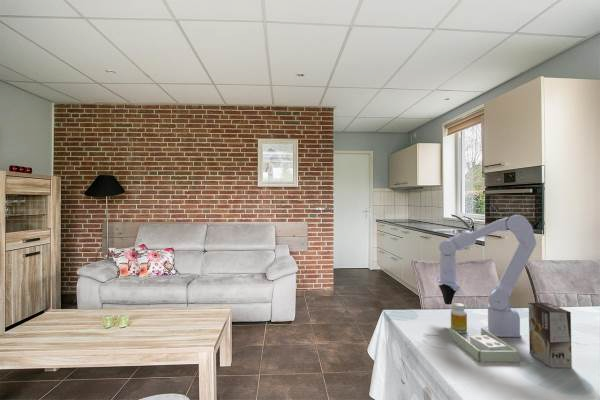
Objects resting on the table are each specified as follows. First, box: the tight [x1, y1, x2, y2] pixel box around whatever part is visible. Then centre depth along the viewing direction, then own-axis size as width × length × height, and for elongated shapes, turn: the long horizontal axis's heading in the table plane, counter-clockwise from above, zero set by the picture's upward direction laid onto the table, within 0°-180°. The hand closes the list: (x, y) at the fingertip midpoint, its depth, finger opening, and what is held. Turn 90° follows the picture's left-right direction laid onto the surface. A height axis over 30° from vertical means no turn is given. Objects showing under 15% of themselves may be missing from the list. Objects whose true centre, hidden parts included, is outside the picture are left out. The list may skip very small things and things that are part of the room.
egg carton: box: [469, 334, 507, 351], centre depth 97 cm, size 6×8×5 cm
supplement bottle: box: [450, 302, 468, 334], centre depth 114 cm, size 5×5×10 cm
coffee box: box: [528, 302, 573, 369], centre depth 93 cm, size 9×6×16 cm
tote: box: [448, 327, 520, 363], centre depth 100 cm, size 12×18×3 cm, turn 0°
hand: (448, 303), depth 122 cm, fingers closed
